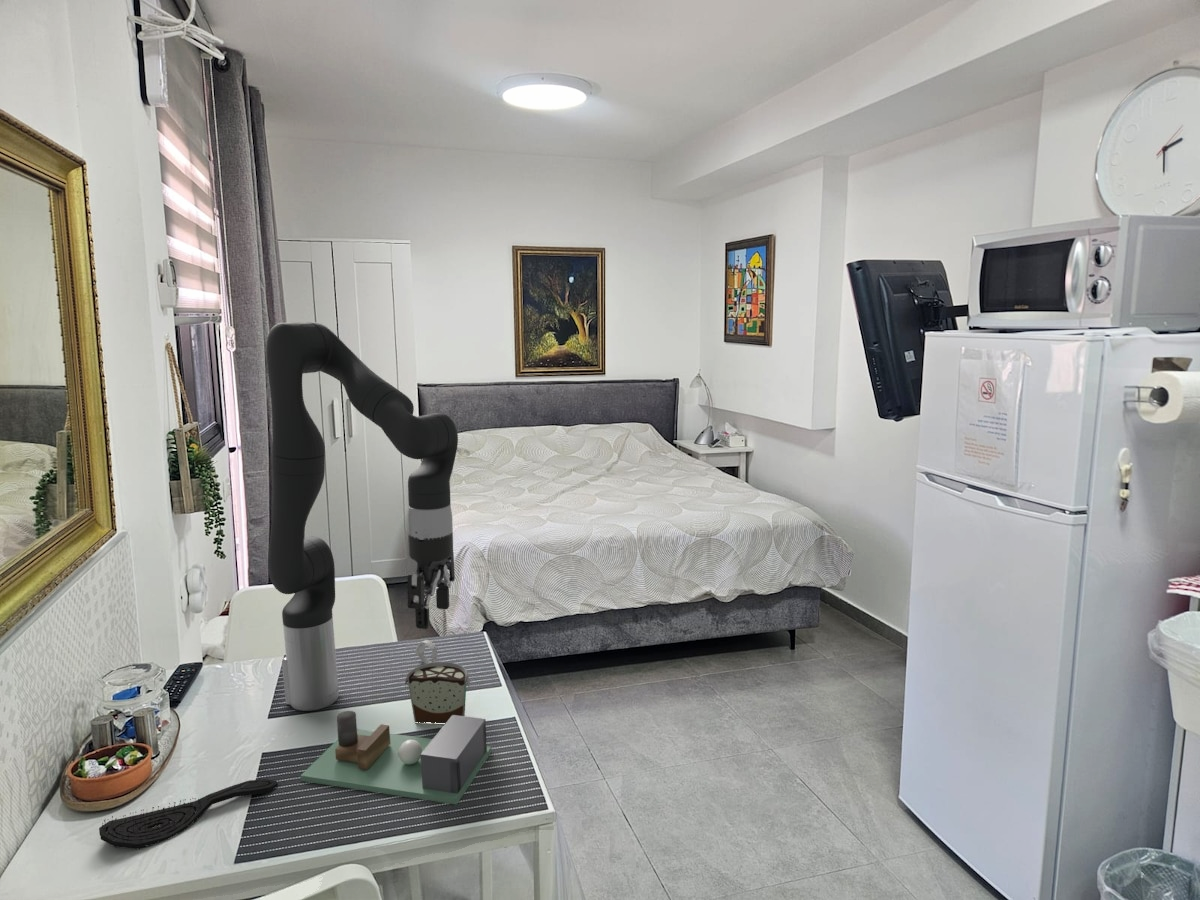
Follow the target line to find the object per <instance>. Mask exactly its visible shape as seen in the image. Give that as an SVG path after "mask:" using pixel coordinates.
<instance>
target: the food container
mask: <svg viewBox="0 0 1200 900" xmlns="http://www.w3.org/2000/svg"><path fill="white" fill-rule="evenodd" d="M404 680H405V682H404V685H408V691H409V698H410V703H411V708H412V713H413V714H412V715H413V719H414V723H415V722H418V723H419V722H420V723H424V722H425V723H426V722H431V723H435V722H436V723H446V722H447V721H448V720H449V719H450V717H451V716H452V715H457V716H465V713H466V700H467V699H466V698H467V697H466V696H467V687H468V688H469V687H470V684H471V680H470V678H469V673H468V672H467V670H466V668H465V667H464V666H463V665H460V664H458V663H456V662H455V663H454V662H448V661H435V662H433V663H428V664H425V663H423V664H422V665H419V666H417V667H415V668H413V669H411V670H410V671H408V672H407V674H406V677H405V679H404Z"/></svg>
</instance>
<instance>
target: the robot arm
mask: <svg viewBox="0 0 1200 900" xmlns="http://www.w3.org/2000/svg"><path fill="white" fill-rule="evenodd" d="M265 346H266V347H265V348H266V349H265V350H266V352H265V353H266V354H265V355H266V363H267V364H266V365H267V374H268V375H267V376H268V382H269V391H270V392H269V393H270V404H271V425H272V427H271V429H272V430H271V431H272V432H271V433H272V439H271V440H272V442H271V443H272V446H271V474H272V476H271V477H272V506H271V509H272V510H271V512H272V513H271V525H270V527H271V528H270V534H269V535H270V536H269V537H270V538H269V544H268V555H267V557H268V558H267V569H268V570H267V571H268V575H269V576H268V577H269V579H270V582H271V584H272V585H273V587H274V588H275V590H277V591H278V592H279V593H280V594H284V595H292V594H293V596H292V597H291V598H290V600H289V601H288V602H287V603H286V604H285V605H284V607H283V608H282V612H281V618H282V627H283V636H284V647H285V656H284V657H283V658H282V660H281V665H282V676H283V677H282V678H283V688H284V689H283V690H284V697H285V699H284V700H285V704H286V705H289V706H291V707H292V708H293V709H295V710H298V711H301V712H302V711H303V712H304V711H305V712H307V711H309V712H310V711H317V710H320V709H324V708H326V707H328V706H329V707H330V706H331V705H332V704H334V703H335V702H336V701H337V700H338V698H339V695H340V691H339V681H338V680H339V679H338V669H337V668H338V667H337V652H336V643H335V642H336V641H335V630H334V618H333V608H334V606H335V602H336V570H335V559H334V556H333V551H332V550H331V548H330V546H329V544H328V543H327V542H326V541H325V540H324V539H322V538H321V537H319V536H308V537H305V529H306V524H307V520H308V517H309V515H310V512H311V510H312V508H313V506H314V504H315V502H316V500H317V498H318V495H319V493H320V492H321V491H320V490H322V487H323V484H324V480H325V475H326V474H325V472H326V467H325V465H326V449H325V448H326V446H325V442H324V438H323V436H322V434H321V432H320V429H319V428H318V426H317V425H316V423H315V421H314V420H313V418H312V417H311V415H310V413H309V411H308V410H307V407H306V405H305V401H304V394H303V374H311V373H313V374H314V373H317V372H321V373H324V374H326V375H329V376H331V377H333V378H334V379H336V380H337V381H339V382H340V383H341V384H342V386H343V388H344V389H345V392H346V396H347V398H348V400H349V402H350V404H351V405H353V407H354V408H355V410H356V411H358V412H359V413H360V414H361V415H363V416H364V417H365V418H367V419H368V420H369V421H371V422H372V423H374V424H375V425H376V426H378V427H380V428H381V430H382V432H384V435H386V437H387V438H388V440H389V441H390V443H392V445H393V446H394V447H395V449H396V450H397V451H398V452H399V453H401V455H403V456H405V457H407V458H409V459H411V460H412V459H413V460H422V461H421V463H420V465H419V467H417V469H415V470H414V471H412V473H410V475H409V476H408V479H407V480H408V481H407V494H408V495H407V498H408V510H407V511H408V513H407V533H408V535H407V537H408V538H407V539H408V556H409V558H410V559H412V560H413V561H415V562H416V563H417V566H416V572H415V573H408V575H407V608H408V609H412V610H413V609H414V611H415V612H414V613H415V627H416V628H417V629H422V630H427V629H429V628H430V626H431V624H430V620H431V619H430V604H431V603H430V602H431V598H432V597H433V596H434V595H435V594H436V595H435V599H436V608H437V609H438V610H448V609H449V608H450V588H451V587H452V582H453V583H454V581H455V578H456V575H455V559H454V558H455V557H454V534H453V533H454V529H453V525H454V524H453V512H452V507H451V482H450V481H451V476H452V474H453V469H454V465H455V460H456V455H457V451H458V444H459V435H458V430H457V426H456V424H455V422H454V420H453V419H452V418H451V417H450V416H449V415H447V414H446V413H442V412H434V413H429V414H424V415H419V416H417V415H413V414H414V411H415V410H414V404H413V401H412V400H411V399H410V397H408V396H407V395H406V394H405V393H403V392H402V391H400V390H399V389H398V388H396V387H395V386H393V385H392V384H391V383H389V382H387V381H386V380H385V379H383V378H382V377H380V375H378V374H377V373H375V371H372V369H371V368H369V367H368V366H367V365H366V364H365V363H364V362H363V361H362V360H361V359H360V358H359V357H358V356H357V355H356V354H355V353H354V352H353V351H352V350H351V349H350V348H349V346H347V345H346V344H345V343H344V342H343V340H342V339H341V338H340V337H338V335H336V334H335V333H334V331H332V330H331V329H329V328H328V326H326V325H324V324H323V323H319V322H316V321H301V322H300V321H298V322H295V321H293V322H291V321H290V322H279V323H276V324H275V325H273V326H272V327H271V329H270V330H269V332H268V334H267V339H266V345H265Z"/></svg>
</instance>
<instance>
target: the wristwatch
mask: <svg viewBox="0 0 1200 900" xmlns="http://www.w3.org/2000/svg"><path fill="white" fill-rule="evenodd" d="M426 646H427V647H428V648H429V649H430V651H431V656H430V658H431V660H429V659H428V658H427V657H426V655H425V650H426ZM414 652H415V654H416V655H417V657H418V658H419V659H420V661H421V662H422V663H423V664H428V663H434V662H437V660H438V648H437V647H436V645H435V644H434V643H433V642H432V641H431V640H428V639H425V640H423V641H421V642H419V643H418V644H417V646H416V648H415V650H414Z"/></svg>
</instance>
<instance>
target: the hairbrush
mask: <svg viewBox="0 0 1200 900" xmlns="http://www.w3.org/2000/svg"><path fill="white" fill-rule="evenodd" d="M277 787H278V781H277V780H275V779H268V778H267V779H266V778H262V779H261V778H260V779H253V780H251V779H249V780H245V781H244V782H240V783H236V784H233V785H229V786H228V787H225V788H221V789H220V790H217V791H214V792H211V793H209V794H206V795H204V796H202V797H200V798H198V799H197V800H196V797H195V798H193V797H192V799H191V798H190V799H189V800H190V801H189V802H183V803H182V804H181V801H182V800H180V801H179V804H178V805H176V802H175V801H173V806H168V807H166V808H165V807H163V808H162V809H161V808H160V806H158V805H157V807H158V808H157V810H151V811H149V812H148V811H146V812H144V810H145V809H141V810H140V811H141V813H140V814H135V815H134V814H133V815H131V812H129V815H130V816H125V815H122V817H120V818H117V817H116V818H115V819H113V818H114V816H113V815H112V816H111V818H112V819H111V820H108V821H107V822H106V819H103V821H104V822H102V824H101V826H100V827H99V829H98V831H99V837H100V840H102V841H103V842H105V843H107V844H108V845H111V846H112V847H114V848H124V849H132V850H133V849H134V850H142V849H145V848H149V847H152V846H155V845H157V844H160V843H162V842H165V841H167V840H170V839H171V838H173V837H175V836H177V835H178V834H180V833H183V832H184V831H185V830H187V829H189V828H190V827H191V826H193V825H194V824H195V823H196V822H197V821H199V820H200V818H201V817H202V816H203V815H204V814H205V813H206V812H207V811H208V810H209V808H210V807H212V805H215V804H217V803H221V802H224V801H227V800H230V799H234V798H240V797H247V796H255V795H256V796H257V795H260V794H266V793H270V792H272V791H273V790H274V789H275V788H277ZM186 800H187V798H184V801H186ZM192 800H193V801H192ZM168 804H169V805H171V803H170V802H168ZM154 808H155V807H154V806H153V807H152V809H154ZM135 813H137V811H135Z"/></svg>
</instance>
